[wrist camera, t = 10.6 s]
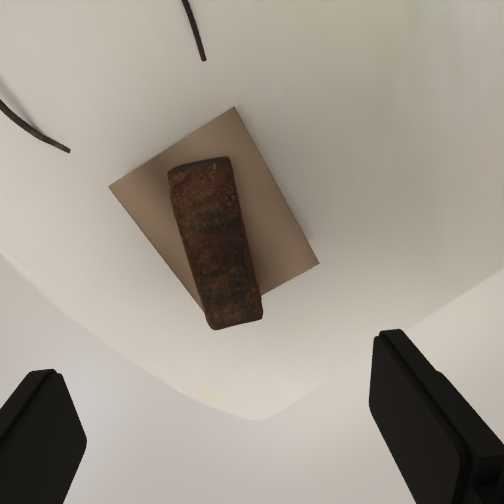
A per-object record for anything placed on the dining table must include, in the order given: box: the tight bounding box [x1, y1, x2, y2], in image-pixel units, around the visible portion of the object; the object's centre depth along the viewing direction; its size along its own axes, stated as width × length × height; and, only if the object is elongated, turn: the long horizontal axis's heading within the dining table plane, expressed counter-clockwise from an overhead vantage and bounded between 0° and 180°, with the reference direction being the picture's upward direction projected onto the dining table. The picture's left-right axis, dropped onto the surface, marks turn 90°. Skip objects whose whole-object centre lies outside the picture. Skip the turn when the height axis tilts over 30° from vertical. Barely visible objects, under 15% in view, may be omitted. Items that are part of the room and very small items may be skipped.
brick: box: [167, 156, 263, 330], centre depth 22 cm, size 11×4×5 cm, turn 11°
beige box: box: [108, 107, 320, 312], centre depth 26 cm, size 10×13×5 cm
